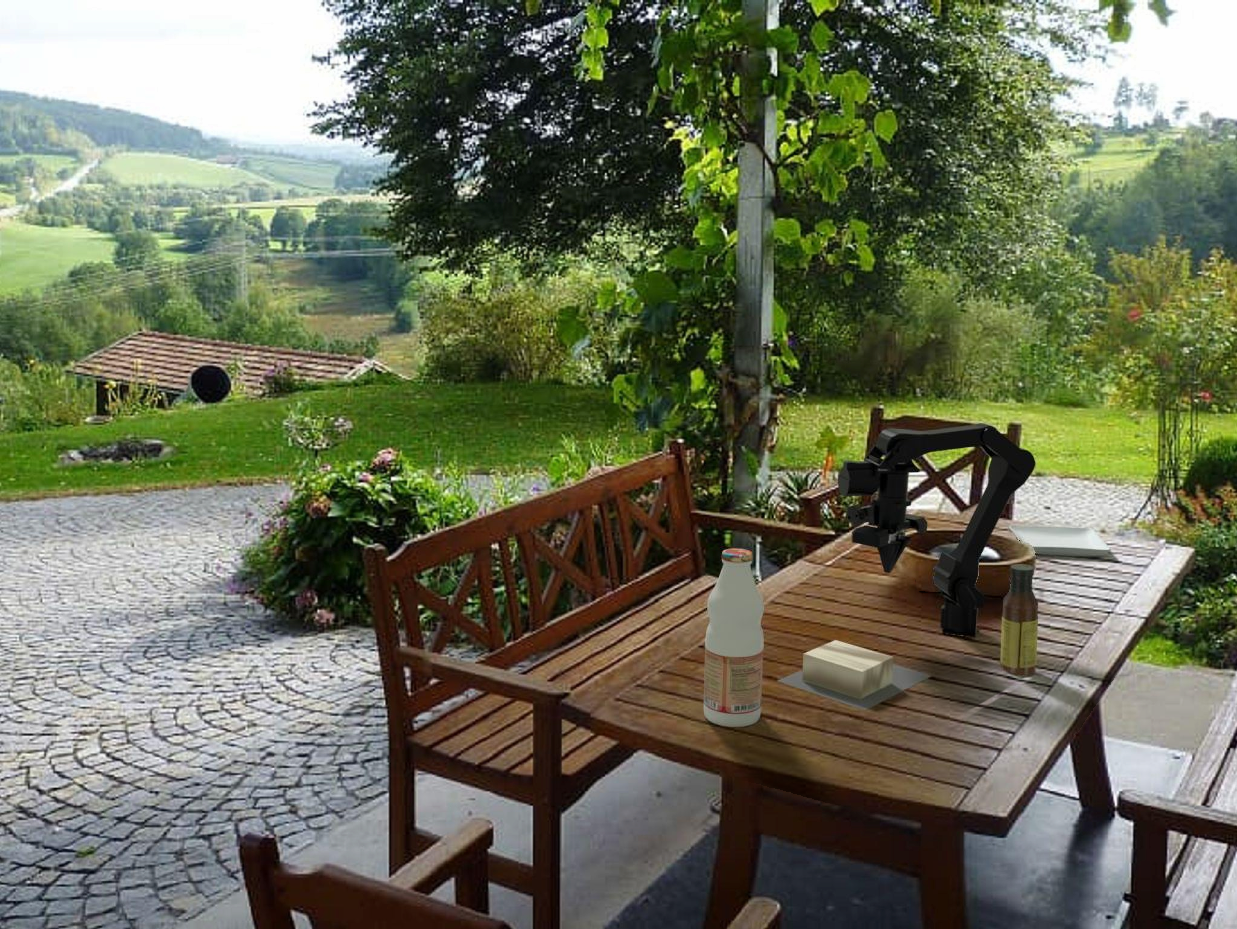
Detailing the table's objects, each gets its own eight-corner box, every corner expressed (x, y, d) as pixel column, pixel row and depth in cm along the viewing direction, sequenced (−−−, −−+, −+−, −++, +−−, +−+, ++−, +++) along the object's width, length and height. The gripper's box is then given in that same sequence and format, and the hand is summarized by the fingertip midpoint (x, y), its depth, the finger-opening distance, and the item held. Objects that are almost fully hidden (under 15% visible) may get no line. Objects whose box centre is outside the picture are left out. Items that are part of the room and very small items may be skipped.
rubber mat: (846, 653, 222) (846, 650, 222) (931, 678, 209) (932, 675, 209) (776, 684, 206) (776, 680, 206) (864, 713, 194) (864, 710, 194)
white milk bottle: (693, 720, 190) (698, 554, 185) (717, 701, 198) (721, 541, 193) (747, 733, 186) (753, 563, 180) (769, 712, 194) (775, 549, 189)
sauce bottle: (1035, 667, 215) (1044, 563, 211) (1035, 679, 210) (1044, 573, 206) (998, 663, 217) (1006, 560, 213) (997, 675, 212) (1005, 569, 208)
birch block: (835, 640, 212) (803, 653, 205) (893, 656, 204) (862, 671, 197) (834, 666, 213) (802, 680, 206) (891, 683, 205) (860, 699, 198)
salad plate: (1021, 557, 290) (1022, 544, 290) (1007, 536, 311) (1008, 523, 310) (1111, 562, 287) (1112, 549, 286) (1091, 540, 307) (1092, 527, 307)
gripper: (881, 481, 238) (877, 555, 241) (829, 495, 225) (825, 573, 228) (931, 490, 230) (925, 566, 234) (880, 505, 217) (875, 585, 220)
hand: (887, 572), depth 229 cm, fingers closed
